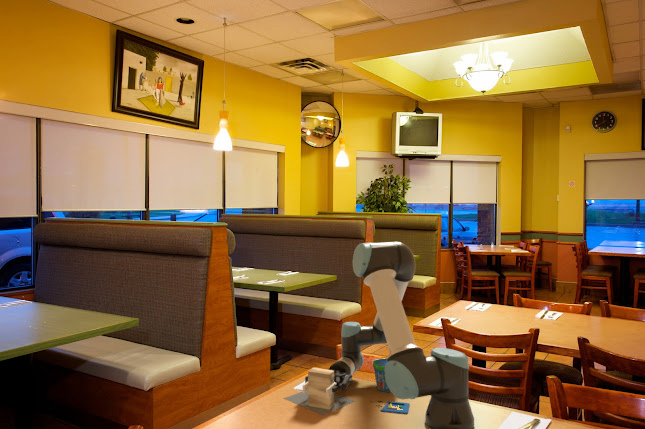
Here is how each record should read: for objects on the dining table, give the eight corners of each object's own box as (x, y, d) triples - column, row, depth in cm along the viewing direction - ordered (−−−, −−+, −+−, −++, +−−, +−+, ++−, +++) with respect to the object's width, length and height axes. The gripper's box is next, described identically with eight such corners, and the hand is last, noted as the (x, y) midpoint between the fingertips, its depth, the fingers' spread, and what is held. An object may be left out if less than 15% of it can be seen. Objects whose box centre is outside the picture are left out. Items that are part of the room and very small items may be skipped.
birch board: (313, 401, 178) (313, 367, 177) (334, 405, 174) (334, 370, 174) (308, 405, 174) (308, 371, 174) (329, 409, 171) (329, 374, 170)
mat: (355, 402, 178) (355, 401, 178) (323, 416, 166) (323, 415, 166) (315, 388, 192) (315, 386, 192) (283, 400, 180) (283, 398, 180)
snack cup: (370, 381, 198) (370, 356, 198) (397, 381, 198) (397, 355, 198) (375, 397, 182) (375, 369, 182) (404, 397, 183) (404, 369, 182)
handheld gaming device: (367, 398, 180) (409, 402, 176) (367, 401, 180) (409, 405, 176) (363, 407, 172) (407, 411, 168) (363, 410, 172) (407, 415, 168)
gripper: (367, 384, 186) (343, 407, 165) (316, 376, 195) (288, 397, 174) (367, 364, 186) (343, 384, 165) (316, 356, 195) (287, 375, 174)
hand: (315, 391), depth 170 cm, fingers closed on birch board, 8 cm apart
